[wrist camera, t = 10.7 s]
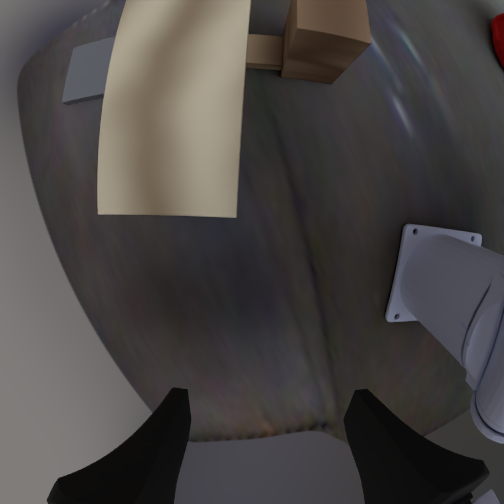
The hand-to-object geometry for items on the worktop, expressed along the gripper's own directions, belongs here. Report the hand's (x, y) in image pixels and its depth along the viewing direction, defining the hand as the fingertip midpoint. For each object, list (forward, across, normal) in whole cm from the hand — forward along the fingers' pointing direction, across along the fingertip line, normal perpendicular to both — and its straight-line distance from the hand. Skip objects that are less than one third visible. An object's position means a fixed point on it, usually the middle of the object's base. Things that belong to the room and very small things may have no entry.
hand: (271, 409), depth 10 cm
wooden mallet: (+10, +4, -18) cm, 21 cm away
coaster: (+10, +14, -18) cm, 25 cm away
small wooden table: (+10, +6, -15) cm, 19 cm away
